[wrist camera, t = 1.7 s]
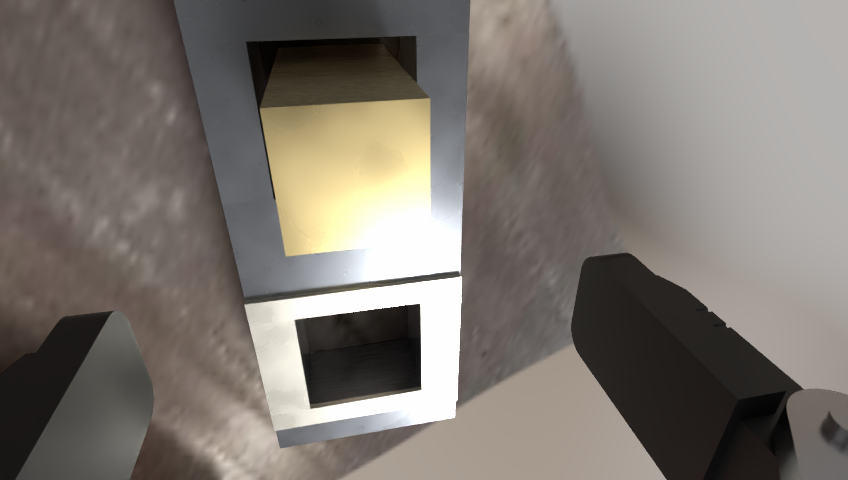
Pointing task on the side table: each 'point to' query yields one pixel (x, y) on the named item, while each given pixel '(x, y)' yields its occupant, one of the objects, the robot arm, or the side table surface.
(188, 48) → the grey peg holder block
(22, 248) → the side table surface
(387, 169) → the brass block
